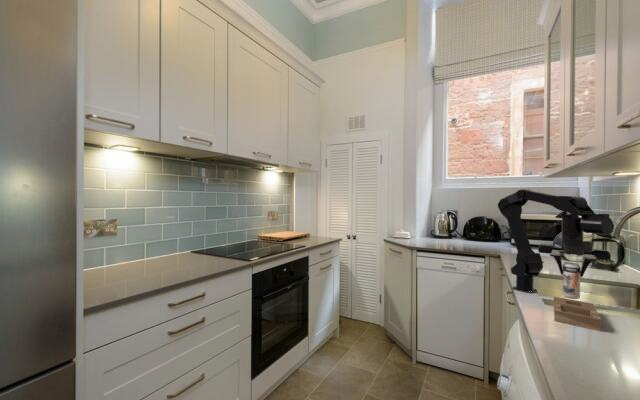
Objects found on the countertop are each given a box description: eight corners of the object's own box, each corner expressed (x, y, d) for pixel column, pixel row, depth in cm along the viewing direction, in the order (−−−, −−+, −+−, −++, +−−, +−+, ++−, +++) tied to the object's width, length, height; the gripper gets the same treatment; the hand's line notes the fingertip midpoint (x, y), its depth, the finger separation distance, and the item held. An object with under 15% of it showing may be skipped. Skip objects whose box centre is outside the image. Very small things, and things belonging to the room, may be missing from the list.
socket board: (553, 305, 99) (553, 296, 99) (592, 312, 93) (593, 303, 93) (554, 320, 85) (554, 310, 85) (601, 331, 79) (601, 320, 79)
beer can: (559, 296, 101) (559, 262, 101) (566, 294, 103) (567, 261, 103) (575, 300, 97) (576, 265, 97) (582, 298, 99) (583, 264, 99)
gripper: (538, 230, 100) (537, 275, 100) (614, 235, 88) (613, 286, 88) (539, 229, 109) (538, 269, 108) (608, 233, 97) (607, 279, 97)
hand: (571, 275), depth 100 cm, fingers closed on beer can, 5 cm apart
